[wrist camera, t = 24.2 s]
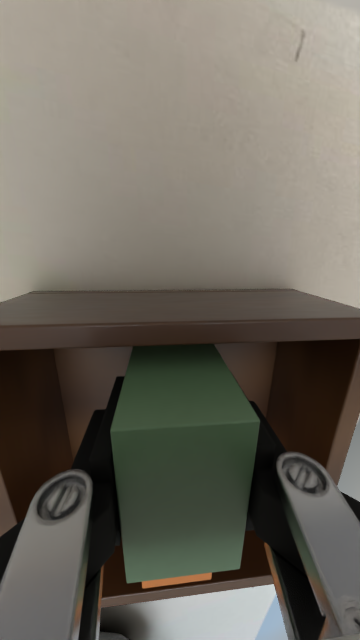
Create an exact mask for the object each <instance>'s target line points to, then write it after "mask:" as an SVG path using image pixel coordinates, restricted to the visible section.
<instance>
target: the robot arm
mask: <svg viewBox="0 0 360 640" xmlns="http://www.w3.org/2000/svg"><path fill="white" fill-rule="evenodd" d="M230 372H231V371H230ZM231 373H232V372H231ZM232 375H233V374H232ZM124 377H125V376H117V377H116V380H115V383H114V386H113V389H112V392H111V395H110V398H109V401H108V404H107V407H106V409H97V410H95V411H94V412H93V414H92V417H91V419H90V422H89V424H88V427H87V429H86V432H85V434H84V437H83V439H82V442H81V444H80V447H79V449H78V452H77V454H76V457H75V459H74V462H73V464H72V467H71V469H70V470H67V471H63V472H60V473H59V474H57V475H55V476H53V477H51V478H50V479H49V480H48V481H47V482H45V483H44V484H43V485H42V486H41V488H40V489H39V490H38V491H37V492H36V494H35V496H34V498H33V500H32V502H31V504H30V507H29V509H28V512H27V514H26V517H25V518H24V519H23V520H22V521H20V522H19V523H18V524H16V525H15V526H14V527H12V528H11V529H10V530H8V531H7V532H6V533H5V534H3V535H2V536H1V537H0V640H99V629H100V615H101V601H102V587H103V572H104V564H105V562H106V561H107V560H108V559H109V558H110V557H111V555H112V554H113V553H114V550H115V546H119V545H120V543H121V527H120V517H119V508H118V499H117V489H116V480H115V471H114V461H113V452H112V443H111V433H110V429H111V426H112V422H113V418H114V415H115V411H116V407H117V403H118V400H119V396H120V392H121V389H122V385H123V381H124ZM233 377H234V376H233ZM234 378H235V377H234ZM235 380H236V379H235ZM236 381H237V380H236ZM237 383H238V382H237ZM238 385H239V384H238ZM239 386H240V385H239ZM240 388H241V387H240ZM241 390H242V389H241ZM242 391H243V390H242ZM243 393H244V392H243ZM244 395H245V394H244ZM245 396H246V395H245ZM246 398H247V397H246ZM247 400H248V398H247ZM248 401H249V400H248ZM249 403H250V405H251V406H252V408H253V410H254V411H255V413H256V414H257V416H258V418H259V420H260V425H259V433H258V440H257V447H256V454H255V462H254V469H253V476H252V484H251V491H250V498H249V506H248V513H247V520H246V528H245V530H246V531H250V530H255V533H256V536H258V537H259V538H260V539H261V540H263V541H264V547H265V551H266V555H267V559H268V563H269V566H270V570H271V574H272V578H273V582H274V586H275V590H276V594H277V598H278V601H279V605H280V609H281V613H282V617H283V620H284V625H285V629H286V633H287V636H288V640H360V502H359V501H357V500H355V499H353V498H352V497H349V496H348V495H346V494H344V493H342V492H341V491H340V490H339V489H338V487H337V486H336V484H335V482H334V481H333V479H332V478H331V476H330V475H329V473H328V472H327V471H326V469H325V468H324V467H323V466H322V465H321V464H319V463H318V462H317V461H316V460H314V459H313V458H311V457H309V456H307V455H305V454H302V453H299V452H293V451H291V452H287V451H286V449H285V448H284V446H283V444H282V443H281V441H280V440H279V438H278V437H277V435H276V434H275V432H274V431H273V429H272V427H271V426H270V424H269V423H268V421H267V420H266V418H265V417H264V415H263V414H262V412H261V411H260V409H259V407H258V406H257V404H256V403H255V402H254V401H249Z"/></svg>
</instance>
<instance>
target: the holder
mask: <svg viewBox="0 0 360 640" xmlns="http://www.w3.org/2000/svg"><path fill="white" fill-rule="evenodd" d="M192 344H214V345H215V347H216V348H217V350H218V352H219V353H220V355H221V357H222V358H223V360H224V362H225V363H226V365H227V367H228V368H229V370H230V371H231V372H232V374H233V376H234V377H235V379H236V380H237V382H238V384H239V385H240V387H241V389H242V390H243V392H244V394H245V395H246V397H247V398H248V400H249V401H254V402H255V403H256V404H257V406H258V407H259V409H260V411H261V412H262V414H263V415H264V417H265V418H266V420H267V421H268V423H269V424H270V426H271V427H272V429H273V431H274V432H275V434H276V435H277V437H278V438H279V440H280V441H281V443H282V444H283V446H284V448H285V449H286V451H287V452H291V451H293V452H299V453H302V454H305V455H307V456H309V457H311V458H313V459H314V460H316V461H317V462H318V463H319V464H321V465H322V466H323V467H324V468H325V469H326V471H327V472H328V473H329V475H330V476H331V478H332V479H333V481H334V482H335V484H336V486H337V485H338V482H339V479H340V475H341V472H342V469H343V466H344V462H345V459H346V456H347V452H348V449H349V446H350V443H351V439H352V436H353V433H354V430H355V427H356V423H357V420H358V417H359V414H360V309H359V308H355V307H352V306H348V305H345V304H341V303H338V302H335V301H331V300H328V299H324V298H321V297H318V296H314V295H311V294H307V293H304V292H300V291H297V290H294V289H238V290H130V291H33V292H30V293H27V294H24V295H21V296H18V297H15V298H12V299H9V300H7V301H4V302H1V303H0V537H1V536H2V535H3V534H5V533H6V532H7V531H8V530H10V529H11V528H12V527H14V526H15V525H16V524H18V523H19V522H20V521H22V520H23V519H24V518H25V517H26V514H27V512H28V509H29V507H30V504H31V502H32V500H33V498H34V496H35V494H36V492H37V491H38V490H39V489H40V488H41V486H42V485H43V484H44V483H45V482H47V481H48V480H49V479H50V478H51V477H53V476H55V475H57V474H59V473H60V472H63V471H67V470H70V469H71V467H72V464H73V462H74V459H75V457H76V454H77V452H78V449H79V447H80V444H81V442H82V439H83V437H84V434H85V432H86V429H87V427H88V424H89V422H90V419H91V417H92V414H93V412H94V411H95V410H97V409H106V407H107V404H108V401H109V398H110V395H111V392H112V389H113V386H114V383H115V380H116V377H117V376H125V374H126V370H127V366H128V362H129V359H130V355H131V351H132V348H133V346H162V345H192ZM269 584H274V582H273V578H272V574H271V570H270V566H269V563H268V559H267V555H266V551H265V547H264V541H263V540H261V539H260V538H259V537H258V536H256V533H255V530H250V531H246V530H245V535H244V542H243V549H242V557H241V564H240V568H239V569H235V570H227V571H220V572H212V577H211V579H210V580H203V581H195V582H188V583H180V584H173V585H165V586H158V587H150V588H142V582H135V583H127V582H126V573H125V564H124V555H123V545H122V536H121V543H120V545H119V546H115V550H114V553H113V554H112V555H111V557H110V558H109V559H108V560H107V561H106V562H105V564H104V572H103V587H102V601H101V608H104V607H111V606H118V605H126V604H133V603H140V602H147V601H154V600H161V599H169V598H176V597H183V596H190V595H197V594H205V593H212V592H219V591H226V590H233V589H240V588H248V587H255V586H262V585H269Z"/></svg>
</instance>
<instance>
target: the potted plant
mask: <svg viewBox="0 0 360 640" xmlns="http://www.w3.org/2000/svg"><path fill="white" fill-rule="evenodd" d="M99 640H130V639H128V638H126V637H125V636H123V635H121V634H120V633H109V632H99Z"/></svg>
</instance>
